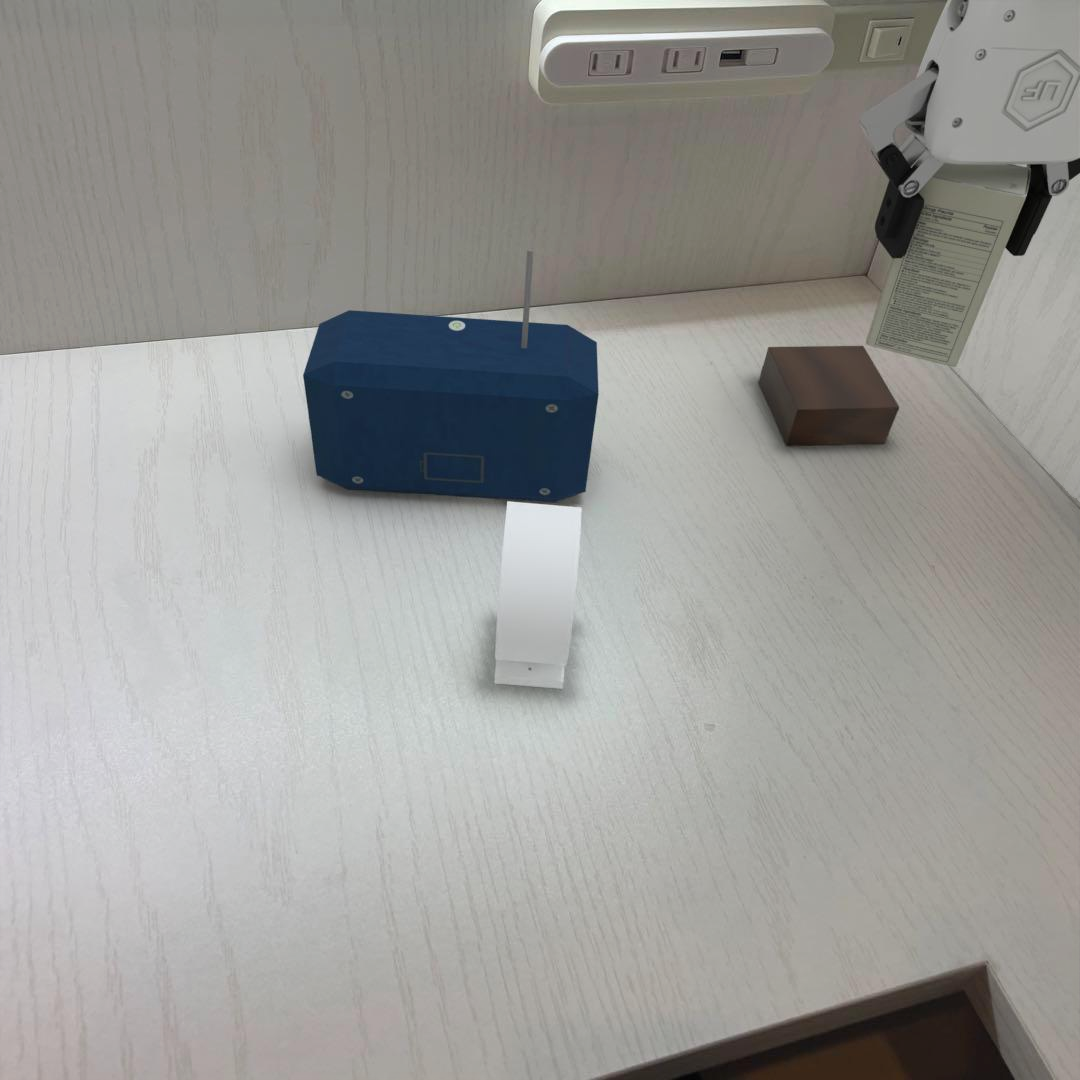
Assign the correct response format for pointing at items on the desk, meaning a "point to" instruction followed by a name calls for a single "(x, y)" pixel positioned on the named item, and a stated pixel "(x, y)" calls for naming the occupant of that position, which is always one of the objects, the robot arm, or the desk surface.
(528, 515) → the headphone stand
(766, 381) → the walnut block
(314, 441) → the radio
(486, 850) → the desk surface
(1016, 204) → the cosmetic box
